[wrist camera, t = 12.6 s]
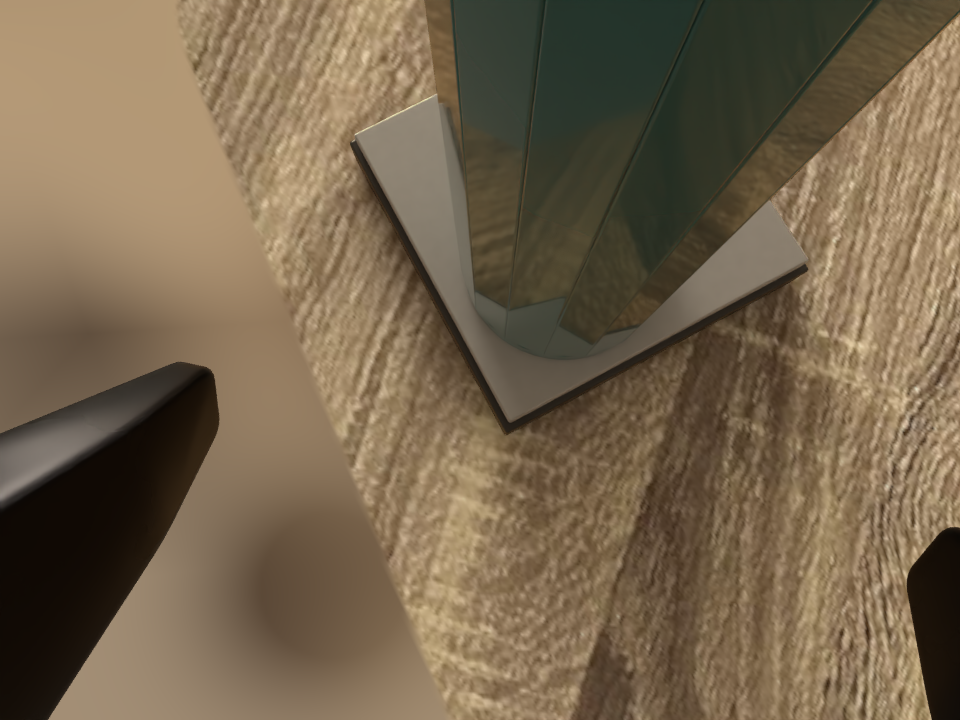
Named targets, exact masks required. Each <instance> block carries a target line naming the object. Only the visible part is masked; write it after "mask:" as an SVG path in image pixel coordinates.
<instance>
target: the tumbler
mask: <svg viewBox="0 0 960 720" xmlns="http://www.w3.org/2000/svg"><path fill="white" fill-rule="evenodd" d="M424 3H425V10H426V18H427V25H428V32H429V40H430V47H431V54H432V61H433V69H434V76H435V83H436V91H437V98H438V105H439V113H440V120H441V127H442V134H443V142H444V149H445V156H446V164H447V171H448V178H449V185H450V193H451V200H452V207H453V215H454V222H455V229H456V237H457V244H458V251H459V258H460V266H461V272H462V276H463V278H464V281H465V286H466V289H467V292H468V295H469V298H470V300H471V302H472V304H473V306H474V308H475V310H476V311H477V313H478V314H479V316H480V318H481V319H482V320H483V321H484V323H485V324H486V325H487V326H488V327H489V328H490V329H491V330H492V331H493V332H494V333H495V334H496V335H497V336H498V337H499V338H501V339H502V340H504V341H505V342H507V343H508V344H510V345H511V346H513V347H515V348H517V349H519V350H521V351H523V352H526V353H528V354H531V355H534V356H538V357H542V358H547V359H556V360H575V359H581V358H587V357H591V356H594V355H597V354H600V353H603V352H605V351H607V350H609V349H611V348H613V347H615V346H617V345H618V344H620V343H622V342H623V341H626V340H627V339H628V338H629V337H630V336H631V335H632V334H633V333H634V332H635V331H636V330H637V329H638V328H639V327H640V326H641V325H642V324H643V323H644V322H645V321H646V320H647V319H648V318H649V317H650V316H652V315H653V314H654V313H655V312H656V311H657V310H658V309H659V308H660V307H661V306H662V305H663V304H664V303H665V302H666V301H667V300H668V299H669V298H670V297H671V296H672V295H673V294H674V293H675V292H676V291H677V290H678V289H679V288H680V287H681V286H682V285H683V284H684V283H685V282H686V281H687V280H688V279H689V278H690V277H692V276H693V275H694V274H695V273H696V272H697V271H698V270H699V269H700V268H701V267H702V266H703V265H704V264H705V263H706V262H707V261H708V260H709V259H710V258H711V257H712V256H713V255H714V254H715V253H716V252H717V251H718V250H719V249H720V248H721V247H722V246H723V245H724V244H725V243H726V242H727V241H728V240H729V239H730V238H731V237H732V236H734V235H735V234H736V233H737V232H738V231H739V230H740V229H741V228H742V227H743V226H744V225H745V224H746V223H747V222H748V221H749V220H750V219H751V218H752V217H753V216H754V215H755V214H756V213H757V212H758V211H759V210H760V209H761V208H762V207H763V206H764V205H765V204H766V203H767V202H768V201H769V200H770V199H771V198H772V197H773V196H775V195H776V194H777V193H778V192H779V191H780V190H781V189H782V188H783V187H784V186H785V185H786V184H787V183H788V182H789V181H790V180H791V179H792V178H793V177H794V176H795V175H796V174H797V173H798V172H799V171H800V170H801V169H802V168H803V167H804V166H805V165H806V164H807V163H808V162H809V161H810V160H811V159H812V158H813V157H814V156H816V155H817V154H818V153H819V152H820V151H821V150H822V149H823V148H824V147H825V146H826V145H827V144H828V143H829V142H830V141H831V140H832V139H833V138H834V137H835V136H836V135H837V134H838V133H839V132H840V131H841V130H842V129H843V128H844V127H845V126H846V125H847V124H848V123H849V122H850V121H851V120H852V119H853V118H854V117H855V116H856V115H858V114H859V113H860V112H861V111H862V110H863V109H864V108H865V107H866V106H867V105H868V104H869V103H870V102H871V101H872V100H873V99H874V98H875V97H876V96H877V95H878V94H879V93H880V92H881V91H882V90H883V89H884V88H885V87H886V86H887V85H888V84H889V83H890V82H891V81H892V80H893V79H894V78H895V77H896V76H897V75H899V74H900V73H901V72H902V71H903V70H904V69H905V68H906V67H907V66H908V65H909V64H910V63H911V62H912V61H913V60H914V59H915V58H916V57H917V56H918V55H919V54H920V53H921V52H922V51H923V50H924V49H925V48H926V47H927V46H928V45H929V44H930V43H931V42H932V41H933V40H934V39H935V38H936V37H937V36H938V35H940V34H941V33H942V32H943V31H944V30H945V29H946V28H947V27H948V26H949V25H950V24H951V23H952V22H953V21H954V20H955V19H956V18H957V17H958V16H959V15H960V0H424Z"/></svg>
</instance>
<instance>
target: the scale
mask: <svg viewBox="0 0 960 720" xmlns="http://www.w3.org/2000/svg"><path fill="white" fill-rule="evenodd" d="M350 146H351V148H352V150H353V153H354V155H355V157H356V160H357V162H358V164H359V166H360V168H361V169H362V171H363V173H364V175H365V177H366V179H367V181H368V182H369V184H370V186H371V188H372V190H373V192H374V194H375V195H376V197H377V199H378V201H379V203H380V205H381V206H382V208H383V210H384V212H385V214H386V216H387V218H388V219H389V221H390V223H391V225H392V227H393V229H394V231H395V232H396V234H397V236H398V238H399V240H400V242H401V244H402V245H403V247H404V249H405V251H406V253H407V255H408V256H409V258H410V260H411V262H412V264H413V266H414V268H415V269H416V271H417V273H418V275H419V277H420V279H421V281H422V282H423V284H424V286H425V288H426V290H427V292H428V294H429V295H430V297H431V299H432V301H433V303H434V305H435V307H436V308H437V310H438V312H439V314H440V316H441V318H442V319H443V321H444V323H445V325H446V327H447V329H448V331H449V332H450V334H451V336H452V338H453V340H454V342H455V344H456V345H457V347H458V349H459V351H460V353H461V355H462V357H463V358H464V360H465V362H466V364H467V366H468V368H469V369H470V371H471V373H472V375H473V377H474V379H475V381H476V382H477V384H478V386H479V388H480V390H481V392H482V394H483V395H484V397H485V399H486V401H487V403H488V405H489V407H490V408H491V410H492V412H493V414H494V416H495V418H496V420H497V421H498V423H499V425H500V427H501V429H502V431H503V432H504V434H505V435H508V434H510V433H512V432H514V431H516V430H518V429H519V428H521V427H523V426H525V425H527V424H529V423H531V422H532V421H534V420H536V419H538V418H540V417H542V416H544V415H545V414H547V413H549V412H551V411H553V410H555V409H556V408H558V407H560V406H562V405H564V404H566V403H568V402H569V401H571V400H573V399H575V398H577V397H579V396H581V395H582V394H584V393H586V392H588V391H590V390H592V389H593V388H595V387H597V386H599V385H601V384H603V383H605V382H606V381H608V380H610V379H612V378H614V377H616V376H618V375H619V374H621V373H623V372H625V371H627V370H629V369H630V368H632V367H634V366H636V365H638V364H640V363H642V362H643V361H645V360H647V359H649V358H651V357H653V356H654V355H656V354H658V353H660V352H662V351H664V350H666V349H667V348H669V347H671V346H673V345H675V344H677V343H679V342H680V341H682V340H684V339H686V338H688V337H690V336H691V335H693V334H695V333H697V332H699V331H701V330H703V329H704V328H706V327H708V326H710V325H712V324H714V323H716V322H717V321H719V320H721V319H723V318H725V317H727V316H728V315H730V314H732V313H734V312H736V311H738V310H740V309H741V308H743V307H745V306H747V305H749V304H751V303H753V302H754V301H756V300H758V299H760V298H762V297H764V296H765V295H767V294H769V293H771V292H773V291H775V290H777V289H778V288H780V287H782V286H784V285H786V284H788V283H790V282H791V281H793V280H794V279H796V278H797V277H799V276H801V275H802V274H804V273H805V272H807V271H808V268H807V266H806V264H805V263H807V262H808V257H807V256H806V254H805V253H804V251H803V250H802V248H801V247H800V245H799V244H798V242H797V241H796V239H795V238H794V236H793V235H792V233H791V231H790V230H789V228H788V227H787V225H786V224H785V222H784V221H783V219H782V218H781V216H780V215H779V213H778V212H777V210H776V209H775V207H774V206H773V204H772V203H771V201H770V200H769V201H768V202H767V203H766V204H765V205H764V206H763V207H762V208H761V209H760V210H759V211H758V212H757V213H756V214H755V215H754V216H753V217H752V218H751V219H750V220H749V221H748V222H747V223H746V224H745V225H744V226H743V227H742V228H741V229H740V230H739V231H738V232H737V233H736V234H735V235H734V236H732V237H731V238H730V239H729V240H728V241H727V242H726V243H725V244H724V245H723V246H722V247H721V248H720V249H719V250H718V251H717V252H716V253H715V254H714V255H713V256H712V257H711V258H710V259H709V260H708V261H707V262H706V263H705V264H704V265H703V266H702V267H701V268H700V269H699V270H698V271H697V272H696V273H695V274H694V275H693V276H692V277H690V278H689V279H688V280H687V281H686V282H685V283H684V284H683V285H682V286H681V287H680V288H679V289H678V290H677V291H676V292H675V293H674V294H673V295H672V296H671V297H670V298H669V299H668V300H667V301H666V302H665V303H664V304H663V305H662V306H661V307H660V308H659V309H658V310H657V311H656V312H655V313H654V314H653V315H652V316H650V317H649V318H648V319H647V320H646V321H645V322H644V323H643V324H642V325H641V326H640V327H639V328H638V329H637V330H636V331H635V332H634V333H633V334H632V335H631V336H630V337H629V338H628V339H627V340H626V341H623V342H622V343H620V344H618V345H617V346H615V347H613V348H611V349H609V350H607V351H605V352H603V353H600V354H597V355H594V356H591V357H587V358H581V359H575V360H556V359H547V358H542V357H538V356H534V355H531V354H528V353H526V352H523V351H521V350H519V349H517V348H515V347H513V346H511V345H510V344H508V343H507V342H505V341H504V340H502V339H501V338H499V337H498V336H497V335H496V334H495V333H494V332H493V331H492V330H491V329H490V328H489V327H488V326H487V325H486V324H485V323H484V321H483V320H482V319H481V318H480V316H479V314H478V313H477V311H476V310H475V308H474V306H473V304H472V302H471V300H470V298H469V295H468V292H467V289H466V286H465V281H464V278H463V276H462V272H461V266H460V258H459V251H458V244H457V237H456V229H455V222H454V215H453V207H452V200H451V193H450V185H449V178H448V171H447V164H446V156H445V149H444V142H443V134H442V127H441V120H440V113H439V105H438V98H437V94H435V95H433V96H431V97H429V98H427V99H425V100H423V101H421V102H419V103H417V104H415V105H413V106H411V107H409V108H407V109H405V110H403V111H401V112H399V113H397V114H395V115H393V116H391V117H389V118H387V119H385V120H383V121H381V122H379V123H377V124H375V125H373V126H370V127H368V128H366V129H364V130H362V131H360V132H358V133H356V134H355V140H353V141H351V142H350Z"/></svg>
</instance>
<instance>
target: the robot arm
mask: <svg viewBox="0 0 960 720" xmlns="http://www.w3.org/2000/svg"><path fill="white" fill-rule="evenodd" d="M218 426H219V410H218V402H217V394H216V386H215V379H214V374H213V373H212V371H211V370H210V369H208V368H207V367H204V366H199V365H194V364H190V363H185V362H176V363H173V364H170V365H168V366H165V367H163V368H160V369H158V370H155V371H153V372H150V373H148V374H145V375H143V376H140V377H138V378H136V379H133V380H131V381H128V382H126V383H123V384H121V385H118V386H116V387H113V388H111V389H109V390H106V391H104V392H101V393H99V394H96V395H94V396H91V397H89V398H86V399H84V400H81V401H79V402H77V403H74V404H72V405H69V406H67V407H64V408H62V409H59V410H57V411H55V412H52V413H50V414H47V415H45V416H42V417H40V418H37V419H35V420H32V421H30V422H28V423H25V424H23V425H20V426H18V427H15V428H13V429H10V430H8V431H5V432H3V433H0V720H48V719H49V717H50V715H51V714H52V712H53V711H54V709H55V708H56V706H57V705H58V703H59V702H60V700H61V698H62V697H63V695H64V694H65V692H66V691H67V689H68V688H69V686H70V685H71V683H72V681H73V680H74V678H75V677H76V675H77V674H78V672H79V671H80V669H81V667H82V666H83V664H84V663H85V661H86V660H87V658H88V657H89V655H90V654H91V652H92V650H93V649H94V647H95V646H96V644H97V643H98V641H99V640H100V638H101V637H102V635H103V633H104V632H105V630H106V629H107V627H108V626H109V624H110V622H111V621H112V619H113V618H114V616H115V615H116V613H117V611H118V610H119V609H120V607H121V605H122V604H123V602H124V600H125V599H126V598H127V596H128V595H129V593H130V592H131V590H132V589H133V587H134V585H135V584H136V582H137V581H138V579H139V578H140V576H141V575H142V573H143V571H144V570H145V568H146V567H147V565H148V564H149V562H150V561H151V559H152V558H153V556H154V554H155V553H156V551H157V549H158V548H159V546H160V544H161V543H162V541H163V540H164V538H165V536H166V534H167V532H168V530H169V528H170V527H171V525H172V523H173V521H174V519H175V517H176V515H177V513H178V511H179V509H180V507H181V505H182V503H183V501H184V499H185V497H186V495H187V493H188V491H189V489H190V486H191V485H192V482H193V481H194V479H195V477H196V475H197V473H198V471H199V468H200V467H201V465H202V463H203V461H204V458H205V456H206V455H207V453H208V451H209V448H210V447H211V444H212V443H213V441H214V438H215V436H216V434H217V431H218ZM907 593H908V598H909V604H910V609H911V614H912V620H913V625H914V631H915V636H916V642H917V647H918V652H919V658H920V663H921V669H922V674H923V680H924V685H925V690H926V695H927V700H928V705H929V709H930V714H931V718H932V720H960V528H958V527H950V528H947V529H945V530H943V531H942V532H940V533H939V534H938V536H937V537H936V538H935V539H934V541H933V542H932V543H931V544H930V545H929V547H928V548H927V549H926V550H925V551H924V553H923V554H922V555H921V556H920V557H919V559H918V560H917V561H916V562H915V563H914V565H913V566H912V567H911V569H910V571H909V573H908V578H907Z"/></svg>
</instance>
